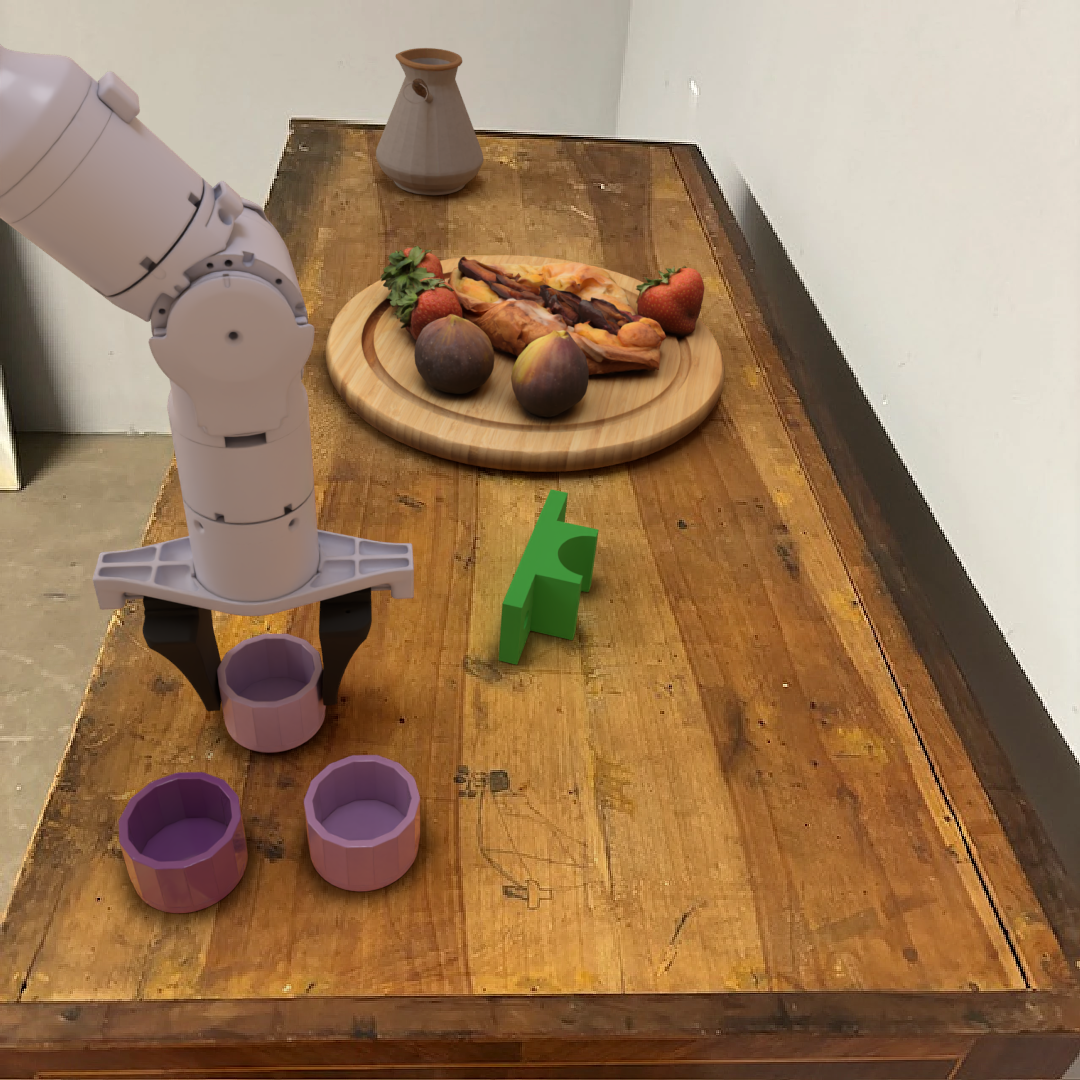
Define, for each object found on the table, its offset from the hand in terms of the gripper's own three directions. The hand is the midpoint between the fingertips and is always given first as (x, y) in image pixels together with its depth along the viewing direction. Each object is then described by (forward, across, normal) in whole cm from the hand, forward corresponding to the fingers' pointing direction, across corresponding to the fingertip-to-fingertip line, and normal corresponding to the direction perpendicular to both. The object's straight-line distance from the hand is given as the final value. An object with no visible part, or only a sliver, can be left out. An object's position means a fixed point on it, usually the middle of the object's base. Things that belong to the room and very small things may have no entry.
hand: (274, 693), depth 56 cm
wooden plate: (+2, -18, -37) cm, 41 cm away
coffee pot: (+2, -12, -71) cm, 72 cm away
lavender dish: (+2, 0, 0) cm, 2 cm away
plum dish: (+2, +4, +9) cm, 10 cm away
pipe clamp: (+2, -16, -8) cm, 18 cm away
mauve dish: (+2, -5, +8) cm, 10 cm away
